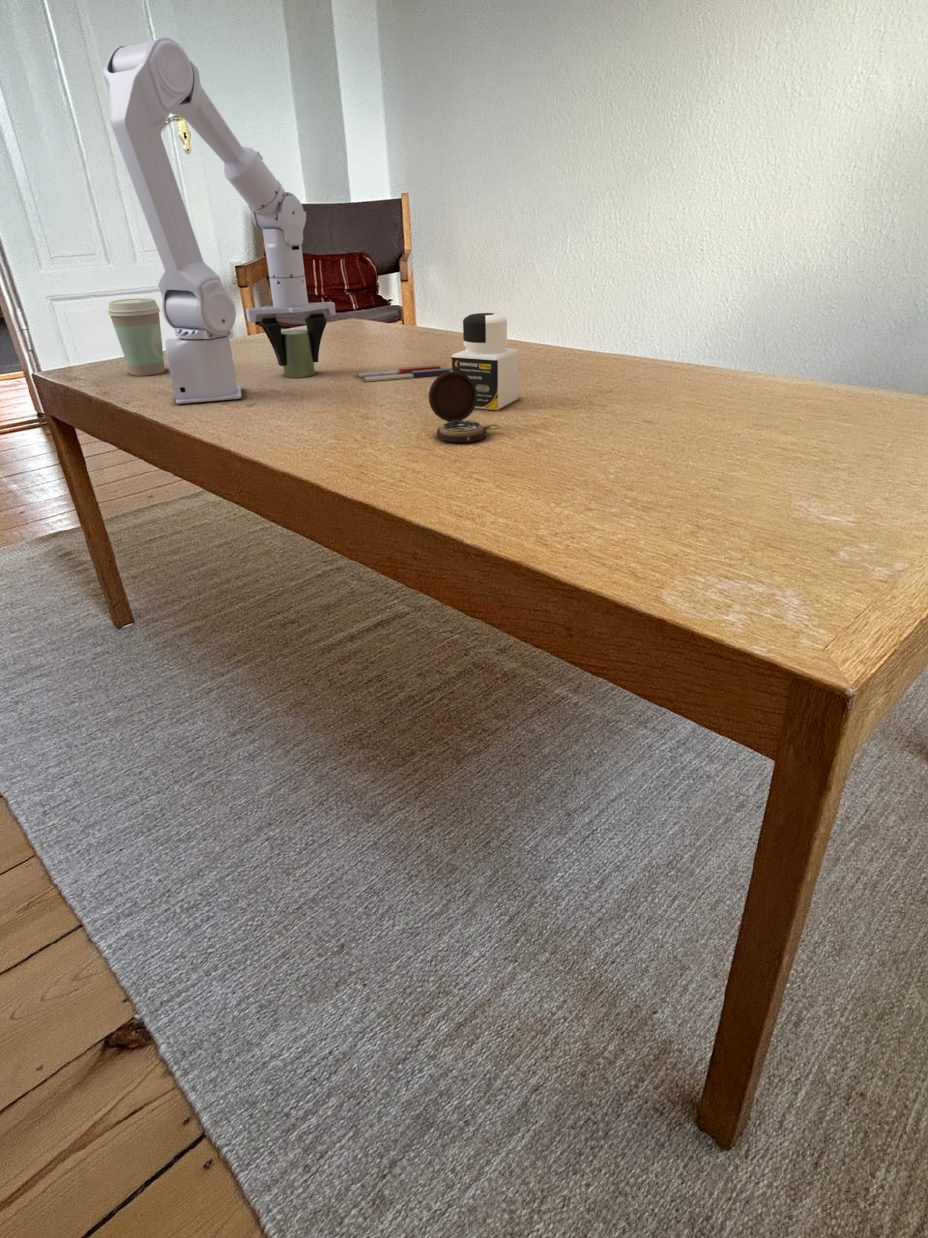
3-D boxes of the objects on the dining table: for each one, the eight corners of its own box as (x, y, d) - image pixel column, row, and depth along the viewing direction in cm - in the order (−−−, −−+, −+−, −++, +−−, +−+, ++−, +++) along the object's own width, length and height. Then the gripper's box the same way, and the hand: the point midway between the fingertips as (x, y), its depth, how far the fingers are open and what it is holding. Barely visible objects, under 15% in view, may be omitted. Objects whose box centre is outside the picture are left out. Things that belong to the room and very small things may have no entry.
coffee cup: (162, 376, 131) (146, 302, 125) (114, 377, 131) (96, 304, 126) (179, 367, 139) (165, 297, 133) (134, 368, 139) (117, 298, 133)
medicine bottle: (452, 406, 107) (449, 316, 101) (475, 395, 112) (473, 309, 106) (497, 411, 104) (497, 318, 98) (518, 399, 109) (519, 311, 103)
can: (288, 378, 127) (283, 335, 123) (281, 373, 131) (275, 331, 128) (318, 375, 129) (313, 332, 125) (310, 370, 133) (305, 328, 129)
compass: (444, 446, 90) (441, 383, 86) (429, 429, 96) (426, 371, 93) (507, 439, 91) (507, 378, 88) (489, 424, 98) (488, 366, 95)
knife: (366, 381, 123) (365, 376, 123) (364, 379, 125) (364, 374, 124) (454, 374, 127) (454, 369, 126) (451, 372, 128) (451, 367, 128)
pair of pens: (360, 377, 126) (359, 372, 126) (358, 375, 128) (358, 370, 127) (440, 371, 129) (440, 366, 129) (438, 369, 131) (438, 364, 130)
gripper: (247, 281, 116) (261, 371, 123) (337, 275, 122) (345, 362, 128) (238, 278, 122) (252, 364, 129) (324, 272, 127) (333, 355, 134)
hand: (298, 363), depth 129 cm, fingers closed on can, 5 cm apart
